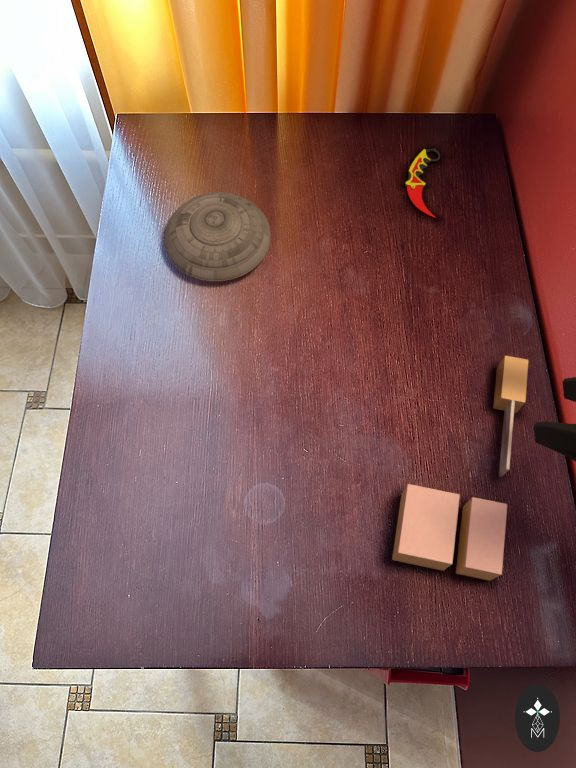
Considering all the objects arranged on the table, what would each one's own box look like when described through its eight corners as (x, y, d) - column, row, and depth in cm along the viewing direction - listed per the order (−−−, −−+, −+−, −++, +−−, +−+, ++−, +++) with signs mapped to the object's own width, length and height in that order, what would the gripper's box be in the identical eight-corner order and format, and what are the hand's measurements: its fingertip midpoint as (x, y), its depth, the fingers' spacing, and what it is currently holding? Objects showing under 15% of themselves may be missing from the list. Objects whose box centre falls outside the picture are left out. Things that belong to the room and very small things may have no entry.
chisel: (496, 367, 90) (504, 355, 87) (519, 371, 90) (528, 359, 86) (486, 475, 84) (495, 466, 81) (511, 480, 84) (520, 471, 80)
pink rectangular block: (451, 504, 82) (460, 494, 78) (443, 570, 79) (452, 564, 75) (401, 494, 83) (407, 483, 79) (391, 560, 79) (398, 552, 75)
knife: (437, 217, 99) (403, 212, 99) (436, 218, 100) (402, 213, 100) (441, 148, 104) (409, 143, 105) (440, 150, 105) (408, 145, 105)
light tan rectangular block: (496, 513, 82) (507, 504, 78) (490, 581, 79) (502, 574, 74) (462, 506, 82) (472, 496, 78) (455, 573, 79) (465, 567, 75)
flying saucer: (143, 253, 97) (136, 229, 92) (207, 184, 102) (203, 157, 97) (230, 305, 93) (227, 283, 88) (291, 230, 99) (292, 205, 94)
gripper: (729, 349, 61) (572, 337, 70) (689, 447, 52) (517, 419, 61) (726, 413, 64) (577, 394, 73) (689, 515, 56) (525, 479, 65)
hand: (550, 409), depth 67 cm, fingers open, 7 cm apart
